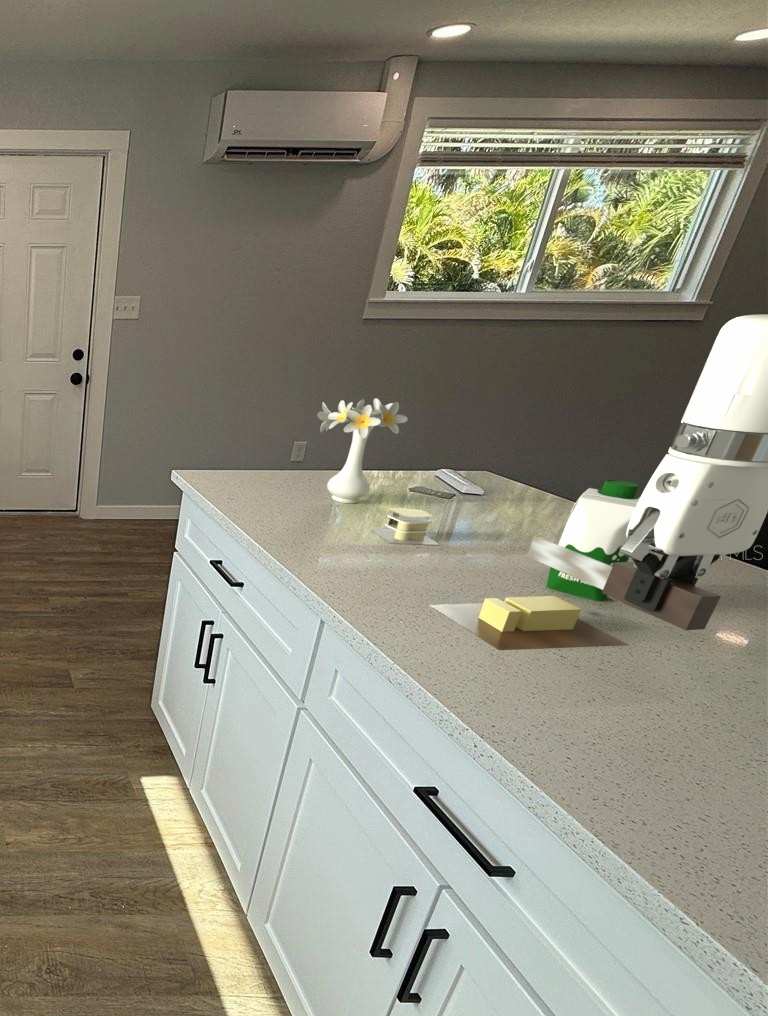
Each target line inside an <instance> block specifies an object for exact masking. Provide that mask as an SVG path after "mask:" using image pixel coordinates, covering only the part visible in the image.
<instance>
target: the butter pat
mask: <svg viewBox="0 0 768 1016" xmlns="http://www.w3.org/2000/svg"><path fill="white" fill-rule="evenodd" d="M504 601H505V600H502V599H500V598H498V597H486V598H484V601H483V602H482V603H483V606H482V609H481V612H480V615H479V618H480V619H481V620H483V621H485V622H486V623H488V624H490V625H491V626H493V627H495V628H496V629H498V630H500V631H501V632H514V630H515V628H516V625H517V623H518V620H519V617H520V615H521V612H522V611H520V610H518V609H516V608H515V607H513V606H511V605H509V604H507V603H505V602H504Z"/></svg>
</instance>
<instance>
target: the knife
mask: <svg viewBox="0 0 768 1016" xmlns="http://www.w3.org/2000/svg"><path fill="white" fill-rule="evenodd" d="M526 558H529V559H532V560H534V561H536V562H539V563H541V564H542V565H545V566H548V567H549V568H550V567H552V568H554V569H557V570H559V571H561V572H563V573H566V574H568V575H570V576H572V577H575V578H577V579H579V580H582V581H584V582H586V583H588V584H591V585H593V586H595V587H597V588H600V589H602V590H603V591H602V593H603V594H605V595H608V596H607V597H610V598H612V599H615V600H617V601H619V602H621V603H624V604H626V605H628V606H630V607H633V608H635V609H637V610H639V611H641V612H643V613H646V614H648V615H651V616H653V617H655V618H657V619H659V620H662V621H664V622H666V623H669V624H670V625H673V626H674V627H677V628H679V629H682V630H684V631H698V630H700V631H701V630H706V628H707V625H708V624H709V621H710V619H711V617H712V615H713V613H714V611H715V609H716V608H717V605H718V603H719V601H720V599H721V598H722V596H721V595H720V594H717V593H714V592H712V591H709V590H706V589H704V588H701V587H699V586H696V585H695V586H693V585H691V584H688V583H685V582H683V581H680V580H678V579H675V578H672V577H670V576H668V577H667V578H669V579H672V583H671V585H670V587H669V589H668V591H667V593H666V595H665V597H664V599H663V602H662V604H661V606H660V608H659V610H658V611H648V610H646V609H644V608H641V607H639V606H637V605H634V604H632V603H630V602H628V601H626V600H625V599H624V597H625V594H626V592H627V590H628V588H629V585H630V583H631V581H632V579H633V576H634V574H635V572H636V569H634V568H633V564H634V561H628V562H617V563H614V565H613V567H612V566H610V565H607V564H605V563H602V562H600V561H597V560H595V559H592V558H590V557H587V556H585V555H582V554H580V553H577V552H575V551H572V550H570V549H567V548H565V547H562V546H560V545H558V543H555V542H552V541H550V540H548V539H545V538H542V537H540V536H538V535H534V536H533V538H532V541H531V543H530V546H529V549H528V552H527V554H526Z"/></svg>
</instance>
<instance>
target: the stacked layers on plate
mask: <svg viewBox="0 0 768 1016" xmlns="http://www.w3.org/2000/svg"><path fill="white" fill-rule="evenodd" d="M388 510H389V511H391V512H389V513H388V514H387V517H388V520H387V521H386V522H385V523H384V526H386V527H387V528H379V527H378V528H376V527H375V528H371V527H369V530H371V531H372V532H373V533H374V534H376V535H377V536H378V537H380V538H381V539H383V541H386V542H387V543H388V544H396V545H397V544H400V545H401V544H402V545H428V546H429V545H433V546H434V545H435V546H440V545H441V544H440V543H439V542H437V541H435V540H434V539H433V538H431V537H430V536H427V533H429V532H430V530H428V526H429V524H432V520H430V519H428V518H429V517H433V515H432V514H431V513H429V512H427V511H425V510H423V509H416V508H415V509H414V508H405V507H390V508H389V509H388ZM426 517H427V518H426Z"/></svg>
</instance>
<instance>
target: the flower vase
mask: <svg viewBox="0 0 768 1016" xmlns="http://www.w3.org/2000/svg"><path fill="white" fill-rule="evenodd" d="M365 403H366V402H365V399H364V398H362V399H361V400H359V401H358V402H357V404H356V406H355V407H352V406H353V404H354V402H353V401H351V402H349V403H348V404H347V405H346V402H345V400H343V399H342V400H340V401H339V403H338V406H337V410H338V411H333V412H331V411H330V410H329V409H328V406H327V405H326V403H325V402H322V404H321V405H322V407H321V408H322V411H318V413H317V418H318V419H319V420H320V421H323V422H321V425H320V428H319V432H320V433H323V432H324V430H325V432H328V430H331V429H333V428H334V427H336V426H337V425H339V424H340V425H341V424H344V423H348V422H349V423H348V424H346V425H345V426H344V428H343V432H344V433H351V432H352V438H351V439H352V440H351V445H350V448H349V451H348V455H347V459H346V461H345V464H344V465H343V466H342V468H341V470H340V471H339V472H338V473H336V474H335V475H333V476H332V477H331V478H330V479H329V480H328V482H327V484H326V488H327V491H328V493H330V494H331V499H332V500H333V501H335V502H338V503H342V504H343V503H344V504H358V503H359V502H360V501H361V499H363V498H365V497H366V496H367V495H368V494H369V493H371V486H370V482H369V481H368V479H367V478H366V477H365V475H364V471H363V460H364V454H365V449H366V445H367V441H368V438H369V436H370V434H371V432H372V430H373V429H374V428H375V427H376V426H378V427H380V428H386V427H388V428H389V429H390V431H392V433H394V434H396V435H398V434H399V433H400V429H399V426H398V424H403V423H406V422H408V421H409V420H408V417H407V416H406V415H404V414H397V413H398V411H399V408H400V404H399V402H398V401H394V402H391V403H387V404H386V405H383V404H382V402H381V401H380V399H379V398H376V397H375V398H373V402H372V404H373V407H372V405H371V404H367V405H365ZM364 405H365V406H364Z"/></svg>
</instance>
